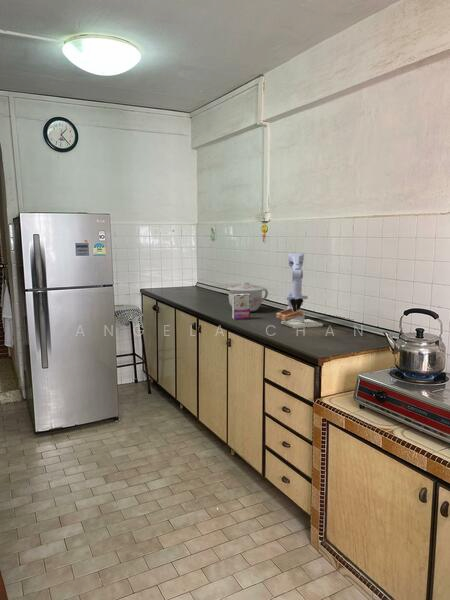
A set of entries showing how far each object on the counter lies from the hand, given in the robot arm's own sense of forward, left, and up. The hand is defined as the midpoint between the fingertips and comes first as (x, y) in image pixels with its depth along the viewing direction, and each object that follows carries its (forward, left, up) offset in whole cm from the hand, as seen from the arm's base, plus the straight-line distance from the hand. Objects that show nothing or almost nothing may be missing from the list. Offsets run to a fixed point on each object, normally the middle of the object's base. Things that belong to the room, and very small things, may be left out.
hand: (296, 311), depth 282 cm
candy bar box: (-31, -23, -9) cm, 40 cm away
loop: (0, -5, -3) cm, 5 cm away
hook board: (+1, +4, -9) cm, 9 cm away
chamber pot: (-58, -7, -9) cm, 59 cm away
